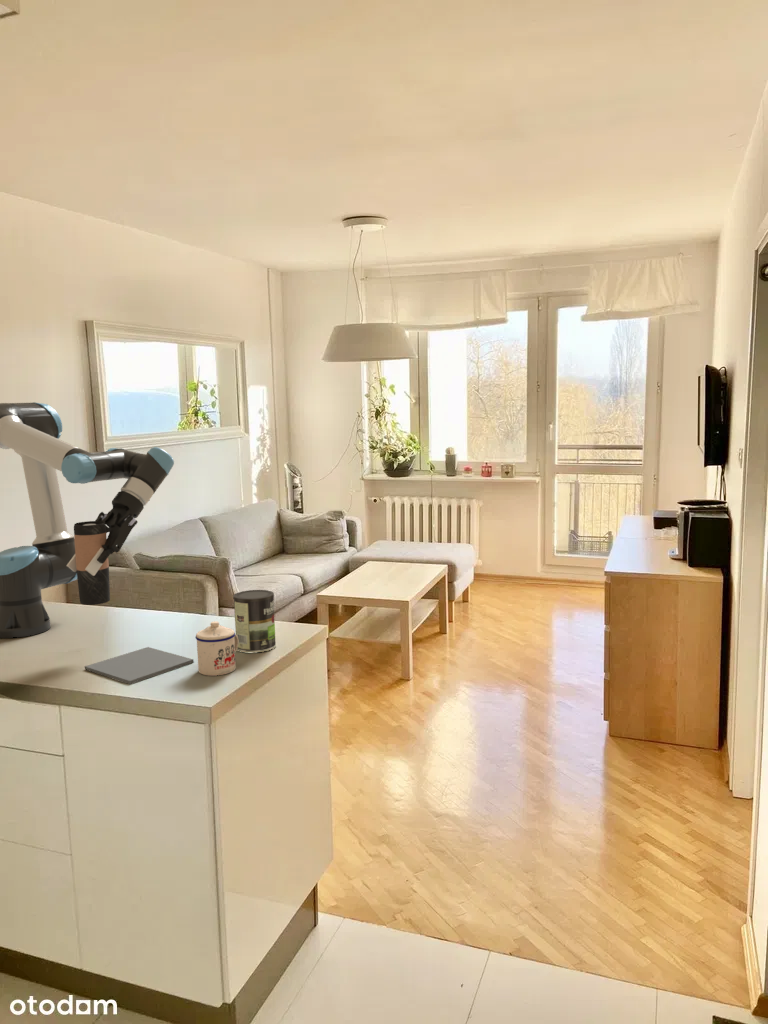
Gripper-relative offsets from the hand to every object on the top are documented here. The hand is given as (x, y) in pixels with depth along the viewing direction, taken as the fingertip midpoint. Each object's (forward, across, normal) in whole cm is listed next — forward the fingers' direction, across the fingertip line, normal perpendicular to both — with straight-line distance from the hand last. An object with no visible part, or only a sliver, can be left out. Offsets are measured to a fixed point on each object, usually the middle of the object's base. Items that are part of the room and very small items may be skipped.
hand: (80, 570), depth 192 cm
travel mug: (+4, 0, -9) cm, 9 cm away
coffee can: (-5, -30, -37) cm, 48 cm away
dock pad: (+13, -17, -18) cm, 28 cm away
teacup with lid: (+6, -35, -25) cm, 44 cm away
